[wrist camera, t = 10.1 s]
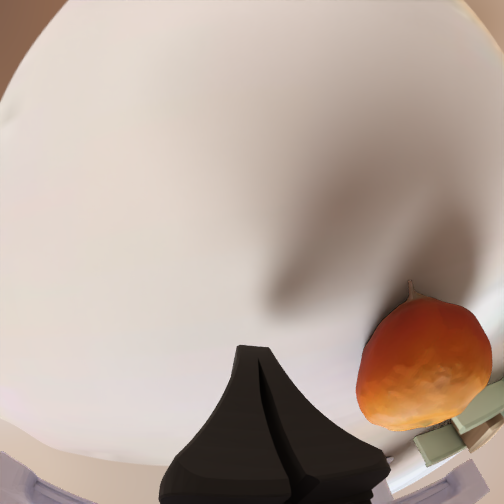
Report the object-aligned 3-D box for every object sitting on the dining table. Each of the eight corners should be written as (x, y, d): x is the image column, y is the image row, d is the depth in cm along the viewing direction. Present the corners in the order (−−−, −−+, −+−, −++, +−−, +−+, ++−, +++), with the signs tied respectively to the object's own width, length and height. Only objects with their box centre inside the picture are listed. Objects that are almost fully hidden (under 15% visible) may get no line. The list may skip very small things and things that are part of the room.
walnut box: (484, 392, 20) (506, 420, 15) (467, 414, 22) (487, 442, 16) (467, 398, 20) (492, 430, 14) (449, 421, 21) (470, 453, 15)
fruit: (486, 284, 12) (513, 400, 7) (406, 337, 18) (411, 435, 13) (421, 232, 11) (460, 406, 5) (327, 310, 16) (321, 437, 11)
